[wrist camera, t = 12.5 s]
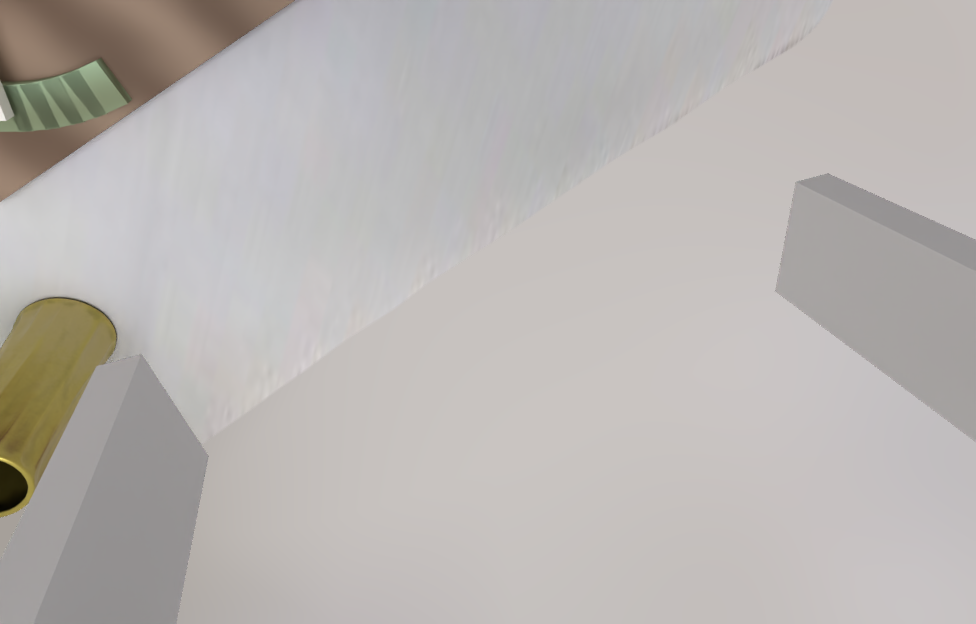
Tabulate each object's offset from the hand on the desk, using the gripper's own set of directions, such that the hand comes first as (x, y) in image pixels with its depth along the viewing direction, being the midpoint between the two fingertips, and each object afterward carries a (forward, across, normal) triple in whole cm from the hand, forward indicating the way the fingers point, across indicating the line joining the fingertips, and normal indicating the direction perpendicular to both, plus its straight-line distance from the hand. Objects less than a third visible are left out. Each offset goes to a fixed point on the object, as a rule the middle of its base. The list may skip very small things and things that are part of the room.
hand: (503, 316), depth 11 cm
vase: (+31, -26, -14) cm, 43 cm away
